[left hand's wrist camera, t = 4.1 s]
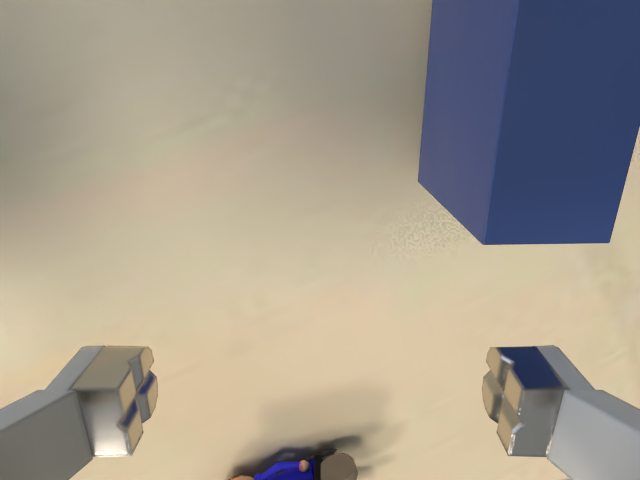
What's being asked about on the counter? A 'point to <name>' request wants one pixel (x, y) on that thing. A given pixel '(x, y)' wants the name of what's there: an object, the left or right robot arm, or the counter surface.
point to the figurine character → (311, 469)
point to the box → (531, 116)
